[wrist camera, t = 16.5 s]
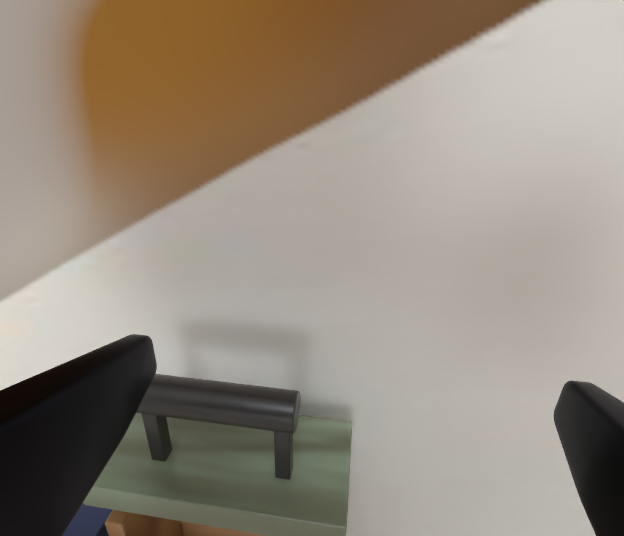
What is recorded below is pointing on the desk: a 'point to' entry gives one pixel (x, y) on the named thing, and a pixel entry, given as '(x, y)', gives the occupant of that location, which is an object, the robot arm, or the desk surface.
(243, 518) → the drawer
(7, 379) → the desk surface
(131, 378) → the robot arm
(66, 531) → the tea tin
